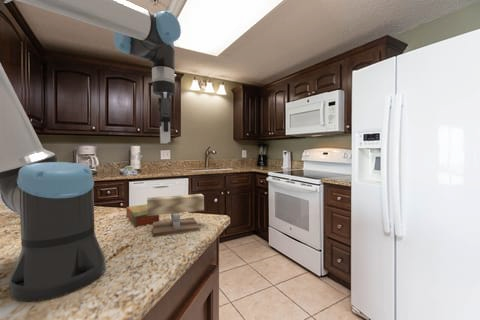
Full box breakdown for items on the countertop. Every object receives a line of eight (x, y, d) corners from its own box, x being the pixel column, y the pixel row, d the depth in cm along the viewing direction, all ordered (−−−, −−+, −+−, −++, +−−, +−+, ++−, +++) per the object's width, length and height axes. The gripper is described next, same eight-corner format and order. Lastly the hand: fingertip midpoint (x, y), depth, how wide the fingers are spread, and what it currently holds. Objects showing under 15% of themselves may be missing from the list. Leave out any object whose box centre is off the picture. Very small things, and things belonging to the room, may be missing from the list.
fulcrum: (199, 230, 74) (199, 214, 74) (153, 236, 69) (153, 219, 69) (193, 220, 85) (193, 205, 85) (153, 224, 80) (152, 209, 80)
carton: (147, 213, 96) (147, 203, 95) (159, 223, 83) (159, 211, 83) (126, 217, 91) (125, 206, 90) (135, 228, 78) (135, 215, 78)
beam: (147, 216, 72) (147, 200, 72) (147, 212, 76) (147, 197, 75) (204, 210, 78) (203, 195, 78) (201, 207, 82) (201, 193, 82)
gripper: (178, 72, 70) (179, 141, 71) (172, 92, 94) (173, 143, 94) (152, 69, 68) (153, 141, 68) (152, 90, 91) (153, 143, 92)
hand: (165, 143), depth 81 cm, fingers open, 13 cm apart
